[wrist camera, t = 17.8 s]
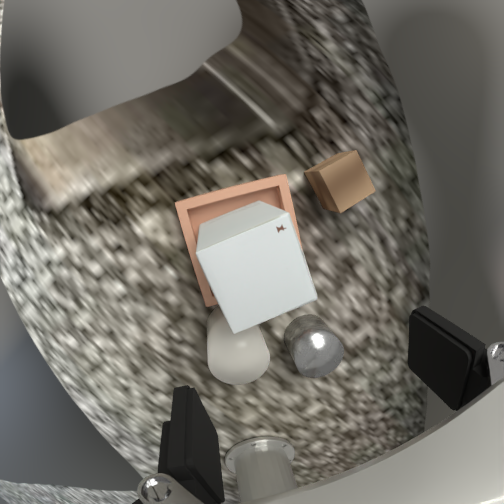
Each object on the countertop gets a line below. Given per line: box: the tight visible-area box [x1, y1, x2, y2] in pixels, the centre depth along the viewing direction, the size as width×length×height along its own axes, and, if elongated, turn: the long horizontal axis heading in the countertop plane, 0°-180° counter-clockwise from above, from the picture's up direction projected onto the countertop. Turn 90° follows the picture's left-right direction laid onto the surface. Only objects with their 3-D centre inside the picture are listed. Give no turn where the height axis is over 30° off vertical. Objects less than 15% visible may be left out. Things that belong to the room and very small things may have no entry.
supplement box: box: [196, 200, 317, 334], centre depth 27 cm, size 7×7×13 cm
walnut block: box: [304, 150, 375, 213], centre depth 32 cm, size 5×5×5 cm
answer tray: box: [175, 174, 303, 307], centre depth 33 cm, size 12×12×2 cm
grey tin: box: [284, 315, 344, 378], centre depth 35 cm, size 6×6×6 cm
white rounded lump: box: [207, 306, 270, 385], centre depth 33 cm, size 6×6×8 cm
